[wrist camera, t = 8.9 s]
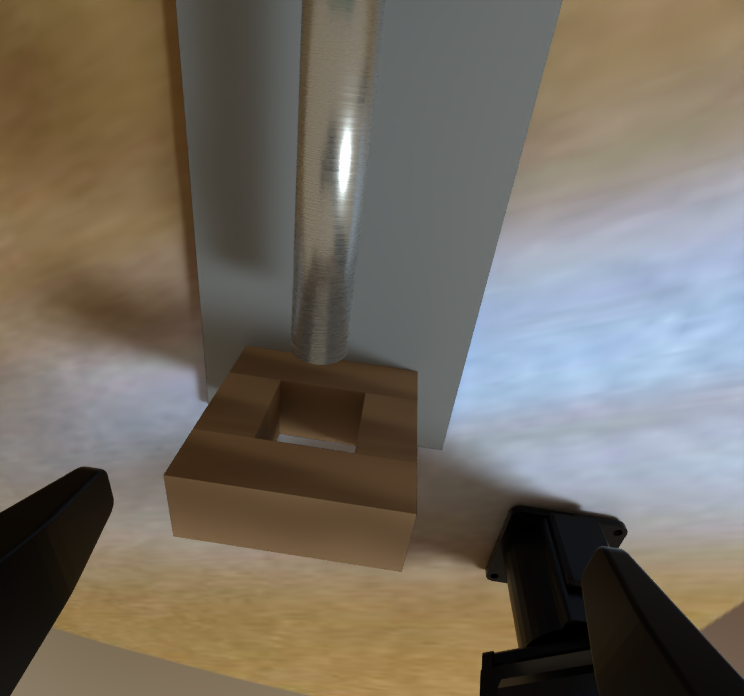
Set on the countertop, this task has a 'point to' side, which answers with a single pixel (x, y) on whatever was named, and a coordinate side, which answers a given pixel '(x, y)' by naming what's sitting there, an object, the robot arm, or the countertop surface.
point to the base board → (383, 181)
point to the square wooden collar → (302, 461)
